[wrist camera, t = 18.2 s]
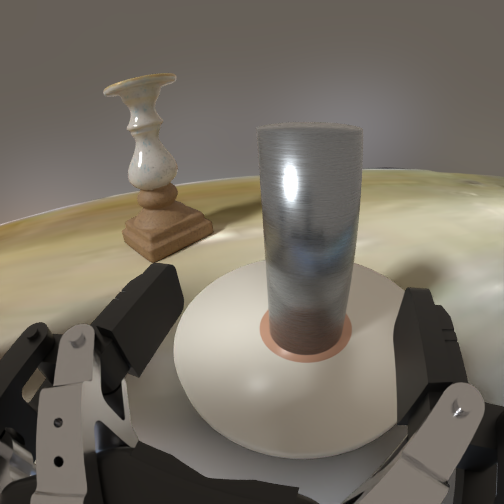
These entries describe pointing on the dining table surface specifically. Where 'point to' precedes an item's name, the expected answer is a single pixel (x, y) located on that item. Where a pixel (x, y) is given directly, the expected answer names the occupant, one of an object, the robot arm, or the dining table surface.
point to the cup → (309, 228)
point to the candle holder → (155, 177)
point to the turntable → (289, 368)
